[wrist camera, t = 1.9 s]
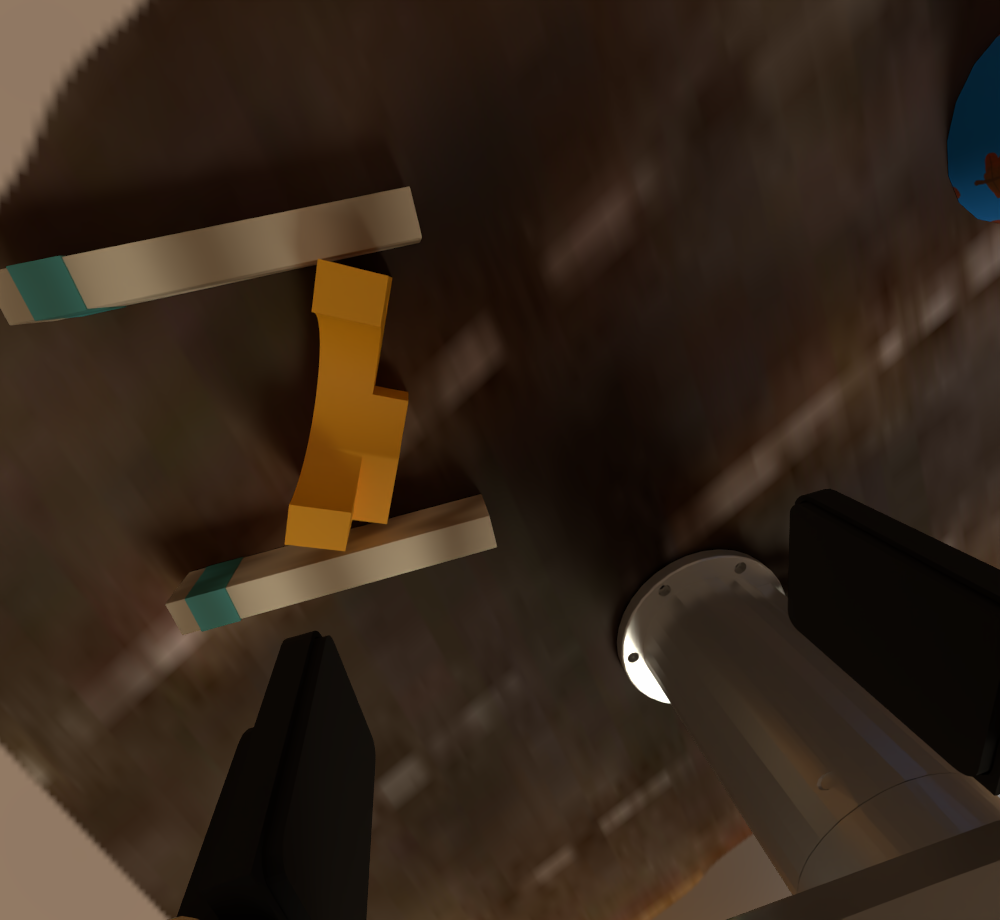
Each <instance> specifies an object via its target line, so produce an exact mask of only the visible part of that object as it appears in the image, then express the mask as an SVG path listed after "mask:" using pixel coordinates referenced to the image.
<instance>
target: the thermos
mask: <svg viewBox="0 0 1000 920" xmlns="http://www.w3.org/2000/svg"><path fill="white" fill-rule="evenodd" d="M947 149H948V175H949V178H950V181H951V183H952V186H953V188H954V191H955V193H956V196H957V198H958V201H959V203H960V204H961V205H963V206H964V207H965V208H966V209H967V210H968V211H969V212H970V213H971V214H972V215H974V216H975V217H976V218H977V219H981V220H985V221H990V222H995V223H1000V34H999V35H998V36H997V37H996V39H995V40H994V41H993V42H992V44H991V45H990V46H989V47H988V48H987V50H986V51H985V52H984V53H983V55H982V56H981V57H980V58H979V59H978V61H977V62H976V63H975V64H974V66H973V68H972V70H971V72H970V74H969V77H968V79H967V81H966V83H965V85H964V87H963V89H962V91H961V93H960V95H959V97H958V99H957V101H956V104H955V109H954V113H953V118H952V122H951V126H950V131H949V135H948V140H947Z"/></svg>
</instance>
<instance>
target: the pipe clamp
mask: <svg viewBox="0 0 1000 920" xmlns="http://www.w3.org/2000/svg"><path fill="white" fill-rule="evenodd" d="M391 283H392V277H390V276H386V275H382V274H378V273H374V272H370V271H366V270H362V269H358V268H354V267H350V266H346V265H342V264H338V263H334V262H330V261H326V260H322V259H318V261H317V270H316V278H315V287H314V295H313V304H312V312H314V313H315V314H316V315H317V318H318V323H319V331H320V359H319V373H318V384H317V392H316V400H315V407H314V414H313V420H312V425H311V431H310V436H309V441H308V446H307V450H306V455H305V459H304V463H303V467H302V470H301V474H300V477H299V481H298V484H297V487H296V490H295V492H294V495H293V497H292V500H291V502H290V504H289V510H288V519H287V528H286V536H285V545H293V546H302V547H311V548H320V549H329V550H337V551H345V550H346V546H347V541H348V537H349V532H350V528H351V523H352V520H358V521H366V522H374V523H382V524H387V521H388V516H389V510H390V505H391V499H392V494H393V488H394V483H395V477H396V472H397V466H398V460H399V454H400V448H401V441H402V435H403V429H404V423H405V418H406V412H407V407H408V392H405V391H400V390H395V389H389V388H384V387H379V386H375V384H376V378H377V371H378V365H379V359H380V352H381V346H382V340H383V334H384V327H385V321H386V315H387V309H388V302H389V296H390V290H391Z"/></svg>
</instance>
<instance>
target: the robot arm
mask: <svg viewBox="0 0 1000 920" xmlns="http://www.w3.org/2000/svg"><path fill="white" fill-rule="evenodd" d="M617 650H618V657H619V660H620V662H621V665H622V668H623V669H624V671H625V673H626V674H627V676H628V678H629V680H630V681H631V682H632V684H633V685H634V686H635V687H636V688H637V689H638V690H639V691H640V692H642V693H643V694H645V695H646V696H648V697H649V698H652V699H655V700H657V701H660V702H664V703H669V704H671V705H672V706H673V708H674V709H675V711H676V713H677V714H678V716H679V717H680V719H681V720H682V722H683V724H684V725H685V727H686V728H687V730H688V732H689V733H690V735H691V736H692V738H693V739H694V741H695V743H696V744H697V746H698V747H699V749H700V750H701V752H702V754H703V755H704V757H705V758H706V760H707V761H708V763H709V765H710V766H711V768H712V769H713V771H714V772H715V774H716V776H717V777H718V779H719V780H720V782H721V783H722V785H723V787H724V788H725V790H726V791H727V793H728V794H729V796H730V798H731V799H732V801H733V802H734V804H735V806H736V807H737V809H738V810H739V812H740V813H741V815H742V817H743V818H744V820H745V821H746V823H747V824H748V826H749V828H750V829H751V831H752V832H753V834H754V835H755V837H756V839H757V840H758V842H759V843H760V845H761V846H762V848H763V850H764V851H765V853H766V854H767V856H768V857H769V859H770V861H771V862H772V864H773V865H774V867H775V869H776V870H777V871H778V873H779V875H780V876H781V878H782V879H783V881H784V883H785V884H786V886H787V887H788V889H789V891H790V892H791V894H792V896H789V897H786V898H784V899H781V900H778V901H776V902H773V903H770V904H768V905H765V906H762V907H759V908H757V909H754V910H751V911H749V912H746V913H743V914H740V915H738V916H736V917H732V918H730V919H727V920H1000V798H999V797H998V796H997V795H999V794H1000V570H999V569H997V568H995V567H993V566H991V565H989V564H987V563H985V562H982V561H980V560H978V559H976V558H974V557H972V556H970V555H968V554H966V553H964V552H962V551H960V550H958V549H955V548H953V547H951V546H949V545H947V544H945V543H943V542H941V541H939V540H937V539H935V538H933V537H930V536H928V535H926V534H924V533H922V532H920V531H918V530H916V529H914V528H912V527H910V526H908V525H906V524H903V523H901V522H899V521H897V520H895V519H893V518H891V517H889V516H887V515H885V514H883V513H881V512H879V511H876V510H874V509H872V508H870V507H868V506H866V505H864V504H862V503H860V502H858V501H856V500H854V499H852V498H849V497H847V496H845V495H843V494H841V493H839V492H837V491H835V490H832V489H824V490H820V491H817V492H813V493H810V494H806V495H802V496H800V497H799V498H798V499H797V500H796V502H795V505H794V506H793V507H792V508H791V511H790V534H789V573H788V597H787V596H785V593H784V590H783V588H782V586H781V583H780V581H779V580H778V579H777V577H776V576H775V575H774V573H773V572H772V571H771V570H770V569H768V568H767V567H766V566H765V565H763V564H762V563H761V562H760V561H758V560H756V559H755V558H753V557H751V556H749V555H748V554H744V553H741V552H738V551H734V550H721V549H717V550H708V551H701V552H698V553H694V554H691V555H688V556H685V557H683V558H681V559H679V560H676V561H674V562H672V563H670V564H669V565H667V566H666V567H664V568H663V569H661V570H660V571H658V572H657V573H655V574H654V575H653V576H652V577H651V578H650V579H649V580H648V581H647V582H646V583H644V584H643V585H642V586H641V588H640V589H639V590H638V592H637V593H636V594H635V595H634V597H633V598H632V599H631V601H630V603H629V604H628V606H627V608H626V610H625V612H624V614H623V617H622V619H621V622H620V625H619V629H618V637H617ZM374 776H375V747H374V742H373V738H372V735H371V733H370V730H369V728H368V725H367V723H366V720H365V718H364V715H363V713H362V710H361V708H360V706H359V703H358V701H357V698H356V696H355V693H354V691H353V688H352V686H351V683H350V681H349V678H348V676H347V673H346V671H345V668H344V666H343V663H342V661H341V658H340V656H339V653H338V651H337V649H336V646H335V644H334V641H333V639H332V638H331V636H325V637H322V636H321V634H320V633H319V632H318V631H313V632H309V633H305V634H302V635H298V636H295V637H291V638H287V639H285V640H284V641H283V643H282V645H281V648H280V651H279V654H278V657H277V660H276V663H275V666H274V669H273V672H272V675H271V678H270V681H269V684H268V687H267V690H266V693H265V696H264V699H263V702H262V705H261V708H260V711H259V714H258V717H257V720H256V723H255V726H254V727H253V728H249V729H248V730H247V731H246V732H245V733H244V734H243V735H242V737H241V739H240V741H239V744H238V746H237V749H236V752H235V755H234V758H233V760H232V763H231V766H230V769H229V772H228V774H227V777H226V780H225V783H224V786H223V788H222V791H221V794H220V797H219V800H218V802H217V805H216V808H215V811H214V814H213V816H212V819H211V822H210V825H209V828H208V831H207V833H206V836H205V839H204V842H203V845H202V847H201V850H200V853H199V856H198V859H197V861H196V864H195V867H194V870H193V873H192V875H191V878H190V881H189V884H188V887H187V889H186V892H185V895H184V898H183V901H182V903H181V906H180V909H179V912H178V915H177V917H176V918H172V919H168V920H366V915H367V897H368V880H369V863H370V845H371V828H372V811H373V793H374Z"/></svg>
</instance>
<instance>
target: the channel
mask: <svg viewBox="0 0 1000 920" xmlns="http://www.w3.org/2000/svg"><path fill="white" fill-rule="evenodd" d="M421 239H422V235H421V231H420V227H419V223H418V219H417V214H416V210H415V206H414V202H413V198H412V194H411V190H410V186H409V187H404V188H399V189H394V190H389V191H384V192H379V193H374V194H369V195H365V196H360V197H355V198H350V199H345V200H340V201H335V202H330V203H325V204H320V205H315V206H310V207H306V208H301V209H296V210H291V211H286V212H281V213H276V214H271V215H266V216H261V217H256V218H251V219H246V220H242V221H237V222H232V223H227V224H222V225H217V226H212V227H207V228H202V229H197V230H192V231H187V232H183V233H178V234H173V235H168V236H163V237H158V238H153V239H148V240H143V241H138V242H133V243H128V244H123V245H119V246H114V247H109V248H104V249H99V250H94V251H89V252H84V253H79V254H74V255H69V256H55V257H50V258H45V259H40V260H35V261H30V262H25V263H20V264H15V265H11V266H6V268H5V269H0V308H1V310H2V312H3V314H4V316H5V317H6V319H7V321H8V323H9V324H10V325H18V324H27V323H37V322H47V321H56V320H62V319H66V318H71V317H81V316H86V315H91V314H95V313H100V312H105V311H109V310H114V309H119V308H123V307H126V306H127V305H132V304H136V303H141V302H146V301H150V300H155V299H160V298H164V297H169V296H174V295H178V294H183V293H187V292H192V291H197V290H201V289H206V288H211V287H215V286H220V285H225V284H229V283H234V282H239V281H243V280H248V279H253V278H257V277H262V276H267V275H271V274H276V273H281V272H285V271H290V270H295V269H299V268H304V267H308V266H313V265H317V261H318V259H322V260H326V261H330V262H332V261H336V260H341V259H346V258H350V257H355V256H360V255H364V254H369V253H374V252H378V251H383V250H388V249H392V248H397V247H402V246H406V245H411V244H416V243H420V241H421ZM496 547H497V545H496V541H495V537H494V533H493V529H492V525H491V520H490V516H489V513H488V511H487V508H486V505H485V502H484V500H483V497H482V494H479V495H475V496H472V497H468V498H464V499H460V500H457V501H453V502H449V503H446V504H442V505H438V506H434V507H431V508H427V509H423V510H419V511H416V512H412V513H408V514H405V515H401V516H397V517H393V518H390V519H388V521H387V524H382V523H371V524H367V525H364V526H360V527H356V528H352V529H350V532H349V537H348V541H347V546H346V550H345V551H337V550H329V549H320V548H311V547H302V546H293V545H289V546H285V547H281V548H278V549H274V550H270V551H267V552H263V553H259V554H255V555H252V556H248V557H244V558H243V557H241V558H237V559H234V560H230V561H226V562H222V563H219V564H215V565H211V566H208V567H206V568H203V569H199V570H196V571H192V572H189V573H188V575H187V576H186V577H185V579H184V580H183V581H182V583H181V584H180V585H179V587H178V588H177V589H176V591H175V592H174V593H173V595H172V596H171V597H170V599H169V600H168V601H167V603H166V604H165V605H166V606H167V608H168V610H169V612H170V614H171V615H172V617H173V619H174V621H175V623H176V624H177V626H178V628H179V630H180V631H181V633H182V635H185V634H188V633H192V632H195V631H199V630H201V631H206V630H209V629H213V628H217V627H220V626H224V625H227V624H231V623H234V622H238V621H241V619H242V618H245V617H249V616H253V615H256V614H260V613H263V612H267V611H271V610H274V609H278V608H281V607H285V606H288V605H292V604H296V603H299V602H303V601H306V600H310V599H313V598H317V597H321V596H324V595H328V594H331V593H335V592H338V591H342V590H346V589H349V588H353V587H356V586H360V585H363V584H367V583H371V582H374V581H378V580H381V579H385V578H388V577H392V576H396V575H399V574H403V573H406V572H410V571H413V570H417V569H421V568H424V567H428V566H431V565H435V564H439V563H442V562H446V561H449V560H453V559H456V558H460V557H464V556H467V555H471V554H474V553H478V552H481V551H485V550H489V549H492V548H496Z"/></svg>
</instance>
